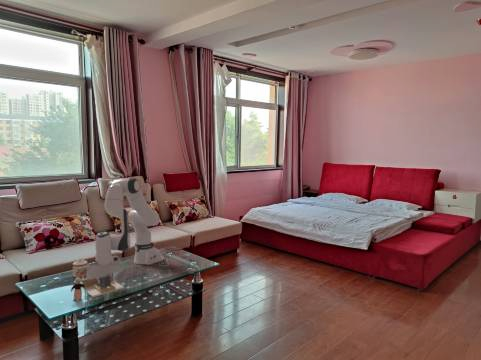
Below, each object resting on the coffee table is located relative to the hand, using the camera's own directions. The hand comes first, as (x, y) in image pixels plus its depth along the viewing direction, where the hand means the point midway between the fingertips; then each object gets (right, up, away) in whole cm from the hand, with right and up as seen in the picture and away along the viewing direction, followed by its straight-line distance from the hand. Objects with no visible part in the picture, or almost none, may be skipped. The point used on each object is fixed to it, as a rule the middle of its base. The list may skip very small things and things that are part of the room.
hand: (104, 282), depth 206 cm
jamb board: (-6, -4, +6) cm, 9 cm away
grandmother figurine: (-9, -6, -14) cm, 17 cm away
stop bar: (0, -2, 0) cm, 2 cm away
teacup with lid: (-23, -2, +22) cm, 31 cm away
